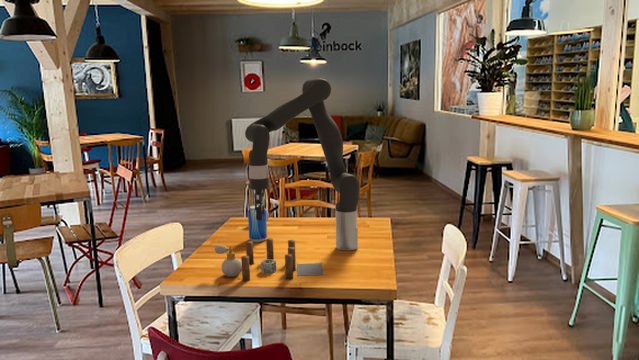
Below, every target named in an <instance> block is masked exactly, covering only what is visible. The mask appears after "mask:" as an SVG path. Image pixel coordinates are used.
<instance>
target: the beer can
mask: <svg viewBox="0 0 639 360" xmlns="http://www.w3.org/2000/svg"><path fill="white" fill-rule="evenodd" d="M257 207H258V206H257ZM265 209H266V208H265V207H264V214H263V215H262V220H257V219H256V210H255V204H254V205H251V206H249V209H248V210H247V219H248V238H249V240H250V241H252V242H255V243H258V242H259V243H260V242H264V241H266V239H268V227H267V226H268V224H267V222H268V221H267V220H266V210H267V209H266V210H265Z"/></svg>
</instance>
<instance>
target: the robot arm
mask: <svg viewBox="0 0 639 360" xmlns="http://www.w3.org/2000/svg"><path fill="white" fill-rule="evenodd" d="M301 91H302V92H301V94H300V95H298V96H297V97H295V98H293V99H291V100H289V101H287V102H285V103H283V104H281V105H279V106H277V107H276V108H275V109H273V110H272V111H270V112H269V113H268V114H267V115H265V116H264V117H261V118H259V119H257V120H254V122H252V123H250V124H249V125H248V126H247V127H246V129H245V131H244V136H245V138H246V140H247V141H248V142H250V143H252V147H251V148H252V149H251V150H250V151H249V153H248V164H249V165H248V166H249V167H248V182H249V183H248V185H249V189H250V190H252V191H253V190H255V192H254V194H253V198H254V205H255V210H256V219H257V220H262V215H263V214H264V208H265V204H266V203H265V202H266V192H265V190H268V189H269V188H270V178H269V177H270V176H269V175H270V173H269V166H268V162H269V161H268V152H269V147H270V139H271V138H270V137H271V136H270V133H271V132H275V131H278V130H280V129H282V127H284V126H285V125H287V124H288V123H289V122H290V121H292V120H294V119H295V118H296V117H297V116H299V115H300V114H302V113H304V112H305V111H306V110H309V113H310V115H311V119H312V121H313V125H314V127H315V129H316V133H317V137H318V140H319V143H320V146H321V148H322V152H323V154H324V158H325V160H326V164H327V166H328V171H329V176H330V179H331V180H330V181H331V185H332V188H333V190H335V192H337V193H338V194H339V201H337V202H336V203H335V245H336V246H335V247H336V249H337V250H338V251H344V252H346V251H347V252H348V251H355V250H358V249H359V247H358V246H359V244H358V241H359V240H358V236H359V235H358V230H359V229H358V219H357V218H358V217H357V216H358V211H357V210H358V204H359V199H360V198H359V196H360V182H359V179H358V178H357V176H355V175H354V174H350V173H348V171H347V168H346V165H345V163H344V157H343V156H344V155H343V154H344V142H343V141H344V140H343V137H342V134H341V131H340V128H339V127H338V125H337V122H336V121H334V119H333V117H332V116H331V115H330V114H329V112H328V110H327V107H326V105H325V101H326V100H328V98H329V97H330V96H331V93H332V92H331V91H332V86H331V84H330V82H329V81H328V80H326V79H324V78H320V77H319V78H318V77H317V78H311V79H307V80H306V81H304V83H303V84H302V88H301ZM257 206H258V207H257Z"/></svg>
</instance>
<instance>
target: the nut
mask: <svg viewBox="0 0 639 360" xmlns="http://www.w3.org/2000/svg"><path fill="white" fill-rule="evenodd" d="M260 265H261V266H260V269H261V270H260V271H261V272H262V273H263V274H264V275H267V274H269V275H270V274H272V275H273V274H274V273H275V272H277V260H275V259H274V260H273V259H267V258H266V259H263V260H261V261H260Z"/></svg>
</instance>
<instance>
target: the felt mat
mask: <svg viewBox="0 0 639 360" xmlns="http://www.w3.org/2000/svg"><path fill="white" fill-rule="evenodd" d="M296 269H297V273H296V275H297V277H300V276H301V277H303V276H306V277H308V276H309V277H310V276H324V273H325V272H324V268H323V263H322V262H315V263H314V262H313V263H312V262H311V263H296Z"/></svg>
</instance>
